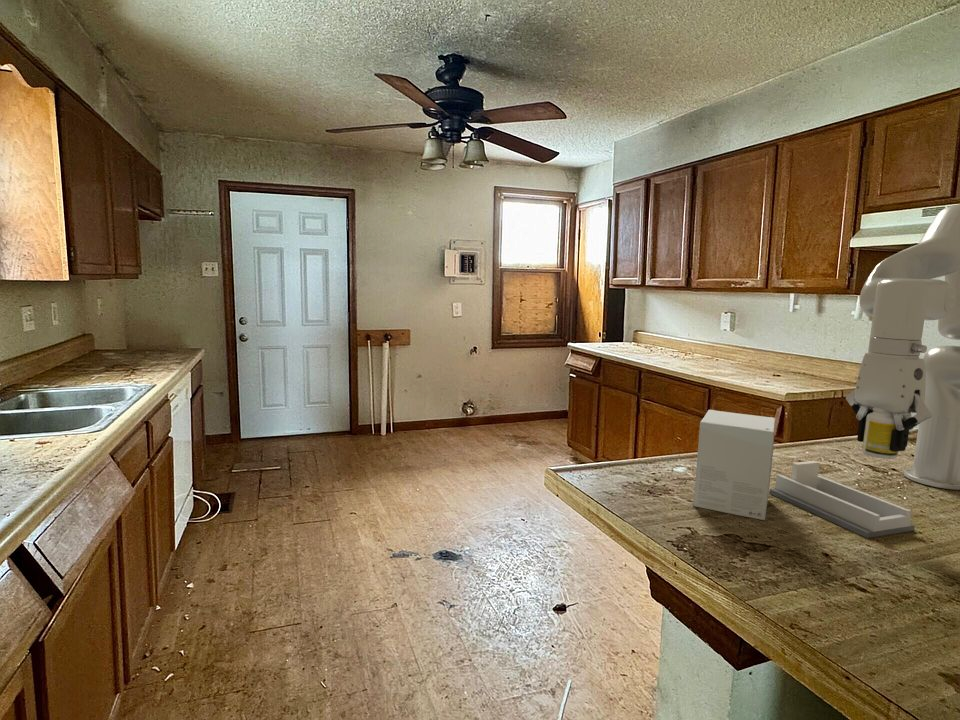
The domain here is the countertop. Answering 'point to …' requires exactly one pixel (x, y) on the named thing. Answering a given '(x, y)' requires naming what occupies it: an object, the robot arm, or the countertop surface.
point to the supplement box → (734, 463)
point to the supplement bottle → (879, 434)
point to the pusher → (806, 473)
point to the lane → (845, 506)
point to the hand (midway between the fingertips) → (880, 444)
